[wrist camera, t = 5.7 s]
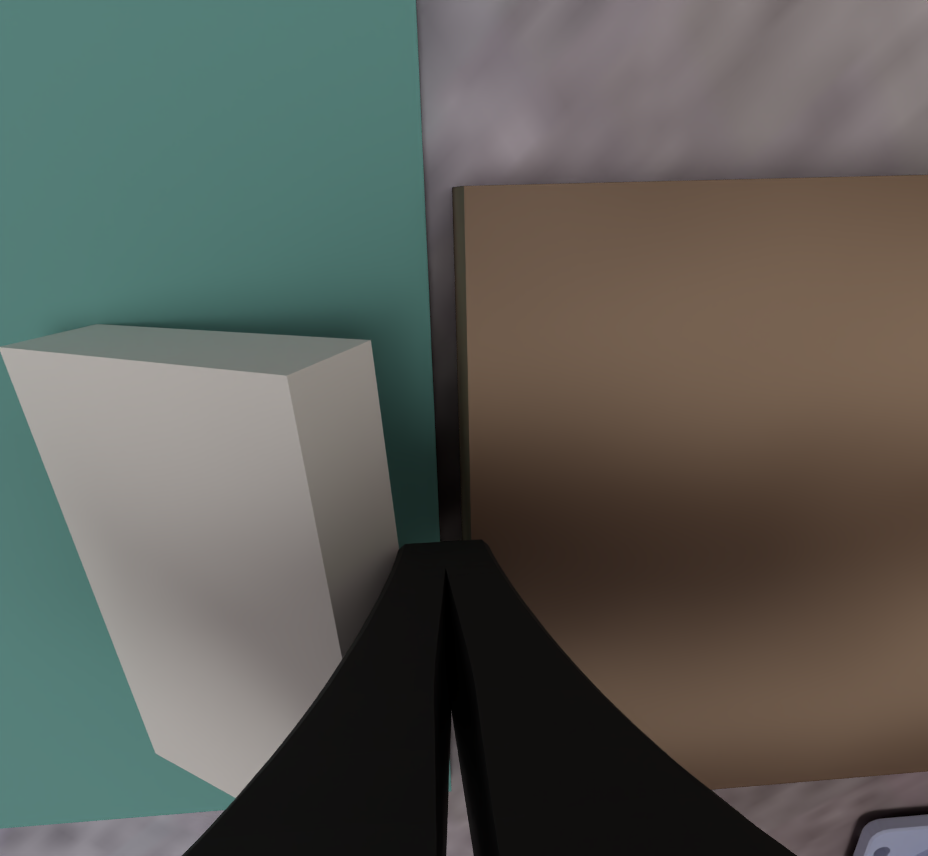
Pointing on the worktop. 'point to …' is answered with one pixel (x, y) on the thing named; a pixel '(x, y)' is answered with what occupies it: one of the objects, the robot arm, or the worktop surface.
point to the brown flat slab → (711, 455)
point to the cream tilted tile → (217, 519)
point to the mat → (189, 296)
